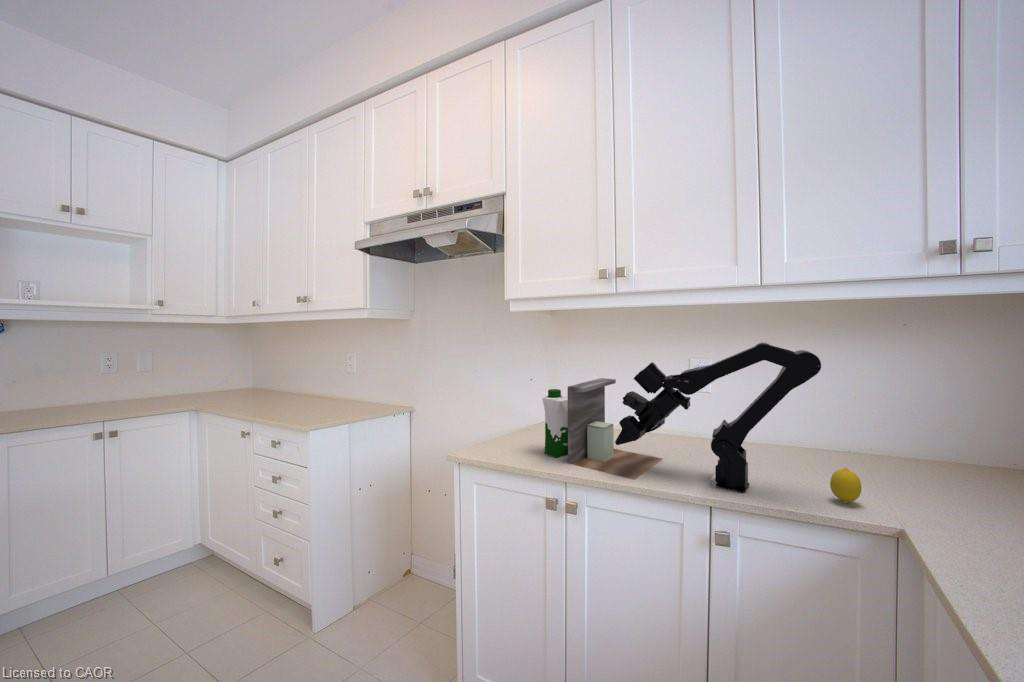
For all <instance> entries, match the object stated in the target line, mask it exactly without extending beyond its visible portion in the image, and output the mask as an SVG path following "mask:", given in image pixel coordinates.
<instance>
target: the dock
mask: <svg viewBox="0 0 1024 682" xmlns="http://www.w3.org/2000/svg"><path fill="white" fill-rule="evenodd" d="M616 382H617V380H616V379H615V378H604V377H600V378H596V379H593V380H588V381H585V382H579V383H576V384H572V385H568V386H567V396H568V454H567V464H569V465H573V466H578V467H581V468H585V469H589V470H593V471H597V472H601V473H605V474H610V475H614V476H618V477H622V478H627V479H630V480H636V479H638V478H639V477H640V476H642V475H643V474H645V473H646V472H647V471H648V470H650V469H652V468H653V467H654V466H656V465H657V464H659V463H660V462H661V461H662V460H663V458H662V457H657V456H651V455H646V454H642V453H637V452H631V451H627V450H621V449H617V448H614V457H613V458H611V459H609V460H607V461H606V462H602V461H598V460H594V459H589V458H588V448H587V425H588V424H591V423H593V422H596V421H599V422H605V423H606V411H605V410H606V409H605V408H606V402H605V401H606V398H605V397H606V396H605V395H606V393H605V391H606V387H607V386H610V385H614V384H616Z"/></svg>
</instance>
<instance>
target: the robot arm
mask: <svg viewBox="0 0 1024 682" xmlns="http://www.w3.org/2000/svg"><path fill="white" fill-rule="evenodd" d="M763 361H767V362H769V363H772V364H776V365H778V366H781V369H780V371H779V372H778V374H777V376H776V378H774V380H773V381H772V382H770V384H769V385H768V386H766V388H765V389H764V390H763V391H762V392H761V393H760V394H758V396H757V397H756V398H755V399H754V400H753V401H752V402H751V403H750V404H749V405H748V406H747V407H746V408H745V409H744V410H743V411H742V412H741V413H740V414H739V416H737V418H735V419H734V420H732V421H730V422H728V421H727V420H726V419H723V420H722V422H721V423H720V425H719V426H718V427H716V428H714V429H713V431H712V435H711V436H712V437H711V438H712V439H711V442H710V449H711V451H712V453H714V455H715V456H716V457H718V458H719V459H718V460H717V464H716V465H715V468H714V469H715V472H714V473H715V474H714V475H715V478H714V481H715V482H716V483H715V487H717V488H720V489H721V488H722V489H725V490H730V491H733V492H738V493H743V494H744V493H745V492H747V490H748V488H749V487H750V482H749V462H748V461H747V450H746V449H745V448H744V447H743V446H742V444H743V443H744V441H745V439H746V438H747V435H748V434H750V432H751V430H753V429H754V428H755V427H756V426H757V424H758V423H760V422H761V421H762V419H764V418H765V417H766V416H767V415H768V414H769V413H770V412H771V411H772V410H773V409H774V408H775V407H776V406H777V405H778V404H779V403H780V402H781V401H782V400H783V399H784V398H785V397H786V396H787V395H788V394H789V393H790V392H792V390H794V389H796V388H798V387H799V386H801V385H803V384H805V383H806V382H808V381H809V380H810V379H812V378H813V377H815V376H817V374H819V372H820V371H821V369H822V363H821V360H820V357H818V356H817V355H816V354H815V353H813V352H811V351H809V350H805V349H804V350H803V349H802V350H801V349H800V350H796V351H792V350H789V349H785V348H783V347H779V346H775V345H772V344H769V343H767V342H759V343H757V344H755V345H753V346H752V347H749V348H747V349H744V350H742V351H740V352H737V353H735V354H733V355H730V356H728V357H726V358H724V359H721V360H718V361H717V362H714V363H710V364H707V365H704V366H698V367H694V368H689V369H687V370H686V369H685V370H683V371H682V372H681V373H680V374H670V375H666V374H665V373H664V372H663V371H662V370H661V369H659V368H658V366H657V364H655V362H650V363H649V364H648V365H647V366H646V367H645V368H643V369H642V370H640V371H639V372H638V373H637V374H635V376H634V377H633V379H632V380H634V381H635V382H636V383H637V384H638V385H639V386H640V387H641V388H642V389H643V390H644V391H645V392H646V393H647V394H649V393H650V394H653V395H655V394H656V393H657V392H658V391H659V390H660V389H662V388H663V389H662V390H661V391H660V392H659V393H658V394H657V395H655V396H654V397H653V398H652V399H650V400H648V399H647V398H646V397H645V396H642V395H641V394H639V393H638V392H635V391H628V392H626V394H625V395H624V396H623V397H622V405H624V406H627V407H628V408H630V409H632V410H634V415H628V416H625V417H623V418H622V419H621V420H620V421H619V423H618V424H619V426H620V427H621V431H620V433H619V434H618V436H617V438H616V439H615V441H614V444H615V445H616V446H619V445H624V444H628V443H632V442H636V441H638V440H640V439H641V438H642V437H643V436H645V435H646V434H647V433H651V432H653V431H655V430H657V429H659V428H661V427H662V426H663V425H665V424H666V423H665V422H666V419H667V418H668V417H669V416H670V414H672V413H673V412H674V411H676V409H678V408H679V407H680V406H681V407H682V408H683V409H684V410H686V411H688V409H689V408H690V407H691V396H689V395H694V394H695V393H698V392H699V391H700V390H702V389H704V388H705V387H707V386H709V385H710V384H711V383H713V382H715V381H716V380H718V379H720V378H723V377H725V376H728V375H730V374H732V373H736V372H738V371H740V370H743V369H744V368H745V369H746V368H748V367H750V366H752V365H755V364H758V363H759V362H763ZM635 415H636V417H637V418H638V419H637V418H636V417H635ZM638 420H639V421H638Z"/></svg>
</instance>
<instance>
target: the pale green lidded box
mask: <svg viewBox="0 0 1024 682" xmlns="http://www.w3.org/2000/svg"><path fill="white" fill-rule="evenodd" d="M614 445H615V441H614V423H610V422H606V421H605V422H599V421H596V422H593V423H591V424H588V425H587V448H588V458H589V459H594V460H598V461H602V462H606V461H607V460H609V459H611V458H613V457H614V449H615V448H614V447H615V446H614Z"/></svg>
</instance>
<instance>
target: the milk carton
mask: <svg viewBox="0 0 1024 682" xmlns="http://www.w3.org/2000/svg"><path fill="white" fill-rule="evenodd" d="M547 394H548V395H547V396H543V397H542V404H543V408H544V409H543V410H544V425H545V426H544V432H545V433H544V434H545V436H544V438H545V439H544V455H547V456H550V457H554V458H557V459H559V458H561V457H564V456H568V395H564V394H562V390H561V389H557V388H553V389H548V390H547Z"/></svg>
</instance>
